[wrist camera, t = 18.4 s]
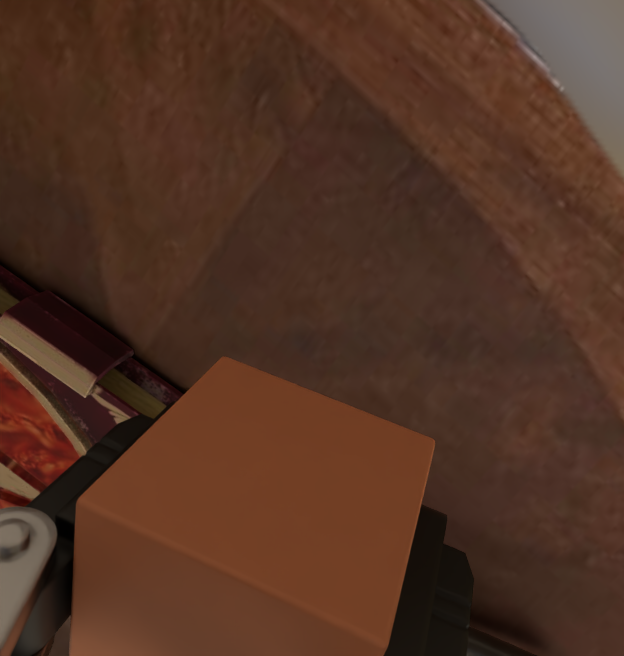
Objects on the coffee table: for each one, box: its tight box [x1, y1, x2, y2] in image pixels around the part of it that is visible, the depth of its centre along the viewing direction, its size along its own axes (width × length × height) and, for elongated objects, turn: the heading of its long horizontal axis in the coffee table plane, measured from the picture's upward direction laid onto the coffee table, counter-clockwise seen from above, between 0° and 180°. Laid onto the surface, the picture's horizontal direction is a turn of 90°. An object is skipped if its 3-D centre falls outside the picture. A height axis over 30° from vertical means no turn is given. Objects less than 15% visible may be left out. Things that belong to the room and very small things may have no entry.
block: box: [69, 357, 435, 656], centre depth 10 cm, size 4×4×4 cm
